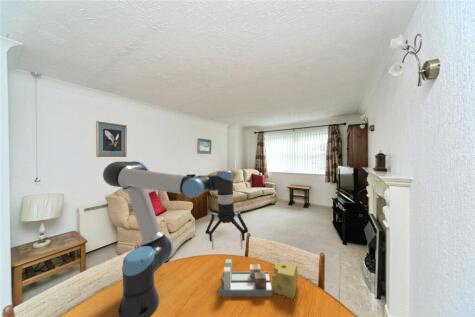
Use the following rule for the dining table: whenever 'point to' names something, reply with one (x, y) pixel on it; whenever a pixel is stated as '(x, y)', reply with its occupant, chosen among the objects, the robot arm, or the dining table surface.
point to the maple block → (254, 270)
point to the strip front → (238, 285)
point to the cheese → (285, 279)
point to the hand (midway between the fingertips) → (227, 247)
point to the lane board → (244, 291)
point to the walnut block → (260, 280)
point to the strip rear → (239, 276)
